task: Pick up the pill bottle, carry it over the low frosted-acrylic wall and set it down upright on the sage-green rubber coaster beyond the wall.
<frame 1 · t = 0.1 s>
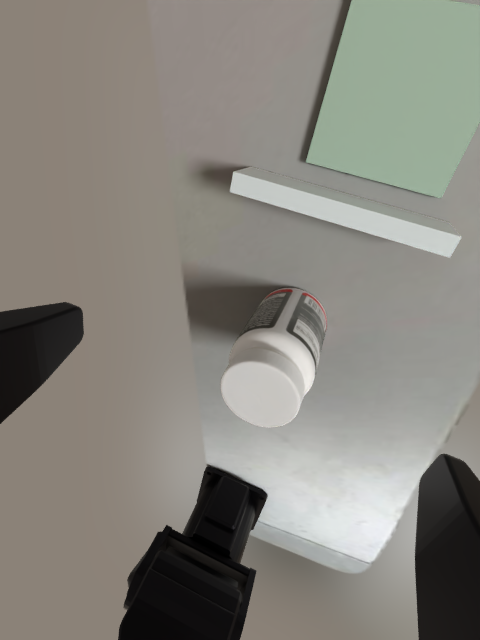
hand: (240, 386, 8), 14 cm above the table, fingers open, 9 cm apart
pill bottle: (293, 317, 23), on the table
coaster: (401, 100, 16), on the table
acrylic wall: (342, 202, 19), on the table
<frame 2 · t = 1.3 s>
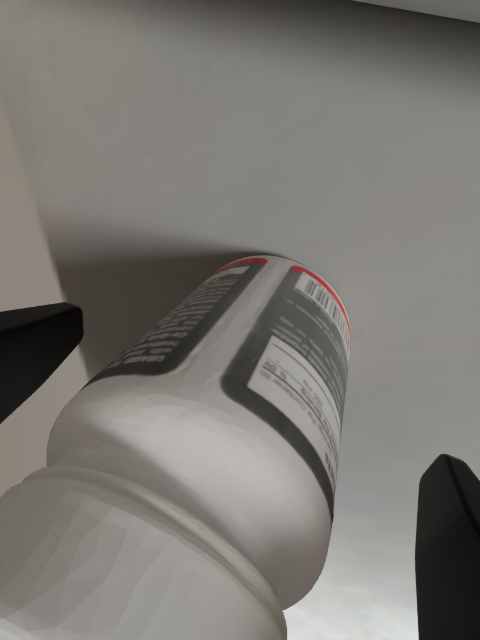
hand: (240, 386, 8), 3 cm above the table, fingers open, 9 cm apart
pill bottle: (272, 324, 11), on the table
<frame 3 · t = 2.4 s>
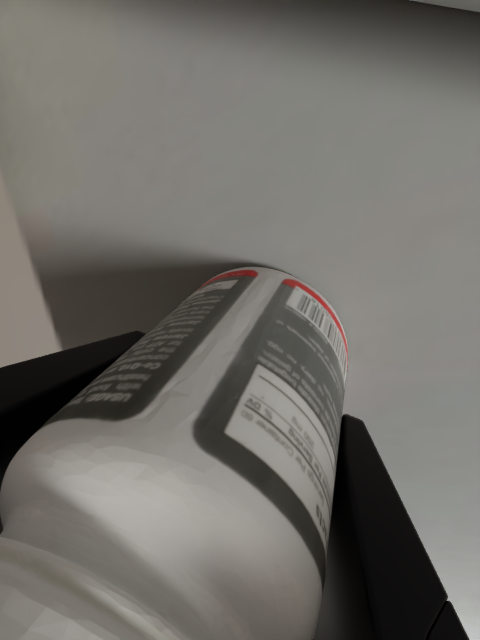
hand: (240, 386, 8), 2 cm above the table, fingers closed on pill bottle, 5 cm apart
pill bottle: (265, 338, 10), on the table, touching gripper
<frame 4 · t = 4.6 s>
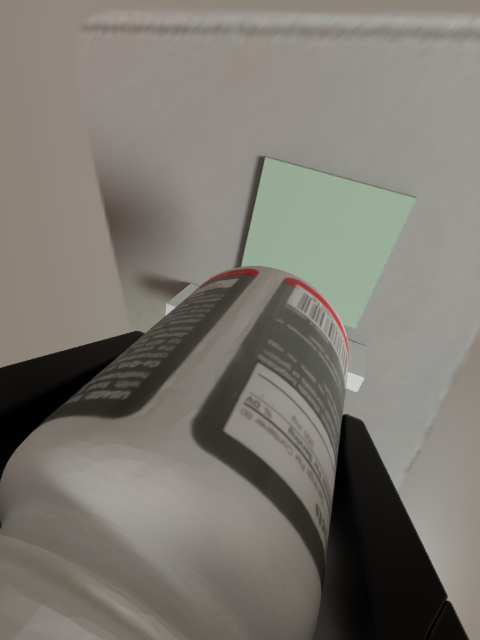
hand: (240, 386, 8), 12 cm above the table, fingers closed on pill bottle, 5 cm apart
pill bottle: (266, 338, 10), point 9 cm above the table, touching gripper
coaster: (314, 247, 18), on the table
acrylic wall: (272, 320, 20), on the table
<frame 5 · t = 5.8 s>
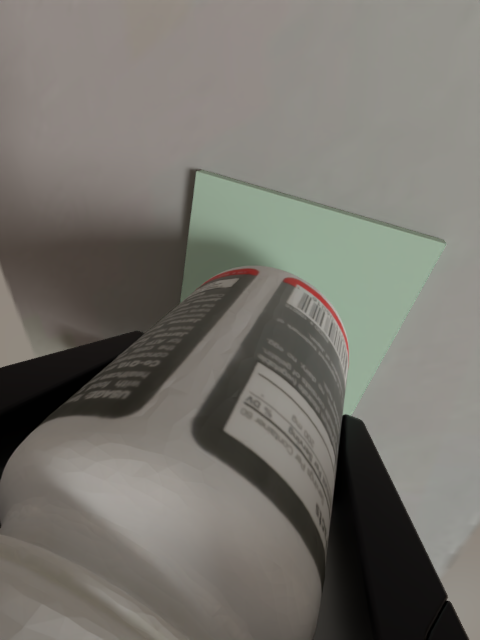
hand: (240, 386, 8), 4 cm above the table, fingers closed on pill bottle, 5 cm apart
pill bottle: (266, 338, 10), point 2 cm above the table, touching gripper
coaster: (281, 307, 11), on the table
when the fingers open (3 cm above the table, at t = 6.8 s): pill bottle stays where it is, resting on coaster.
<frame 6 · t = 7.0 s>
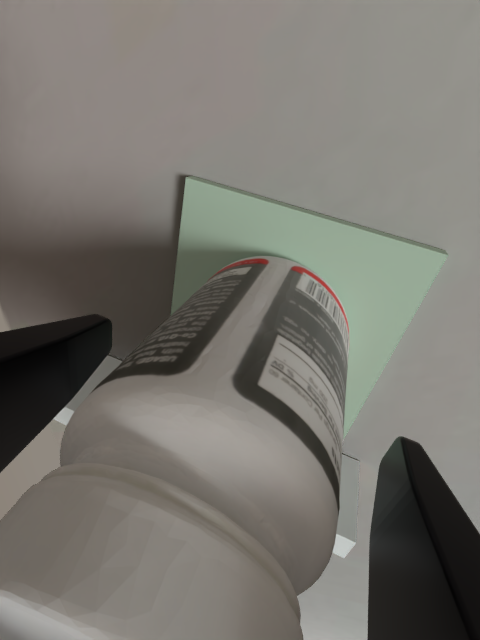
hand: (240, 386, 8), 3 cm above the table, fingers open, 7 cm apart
pill bottle: (272, 323, 11), resting on coaster
coaster: (276, 318, 11), on the table
acrylic wall: (221, 412, 14), on the table
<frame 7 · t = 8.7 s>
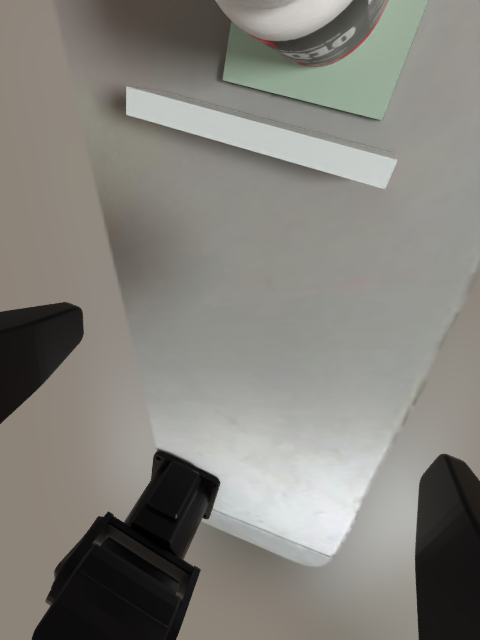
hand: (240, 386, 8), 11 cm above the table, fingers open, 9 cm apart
acrylic wall: (269, 132, 16), on the table
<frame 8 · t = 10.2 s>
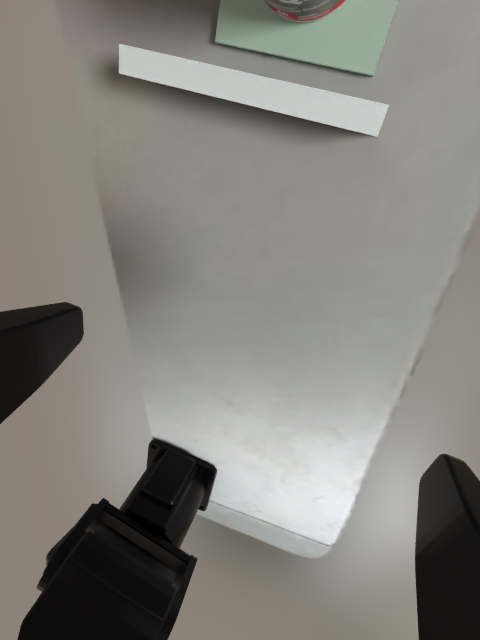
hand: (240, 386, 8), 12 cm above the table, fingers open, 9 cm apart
acrylic wall: (262, 95, 16), on the table
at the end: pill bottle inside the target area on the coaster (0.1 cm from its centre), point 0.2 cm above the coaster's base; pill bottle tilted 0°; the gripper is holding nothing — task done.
